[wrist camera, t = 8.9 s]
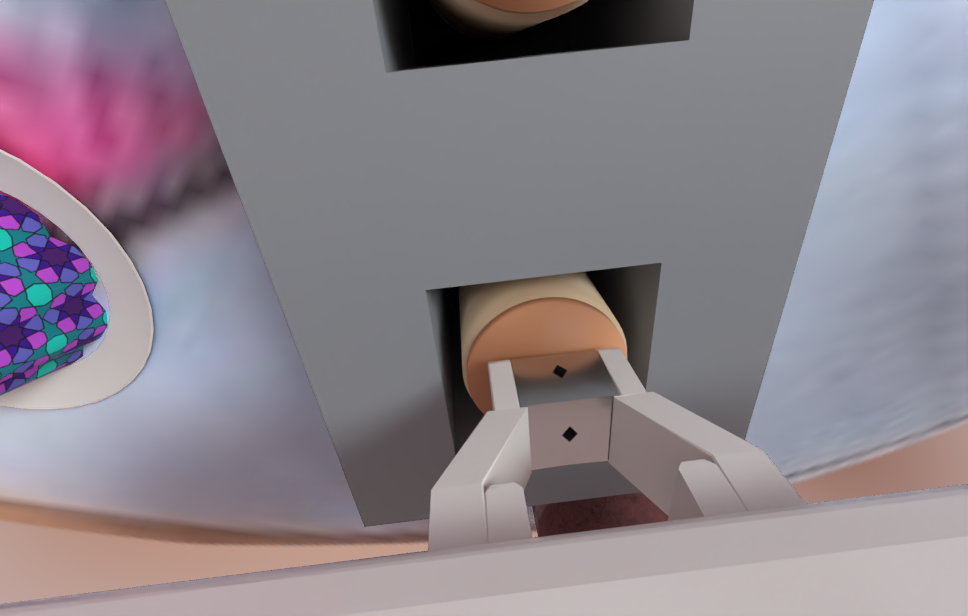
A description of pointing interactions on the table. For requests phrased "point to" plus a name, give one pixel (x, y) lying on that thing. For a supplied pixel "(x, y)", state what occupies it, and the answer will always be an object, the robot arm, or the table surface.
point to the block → (521, 200)
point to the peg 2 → (530, 324)
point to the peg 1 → (499, 15)
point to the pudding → (63, 299)
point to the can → (596, 514)
